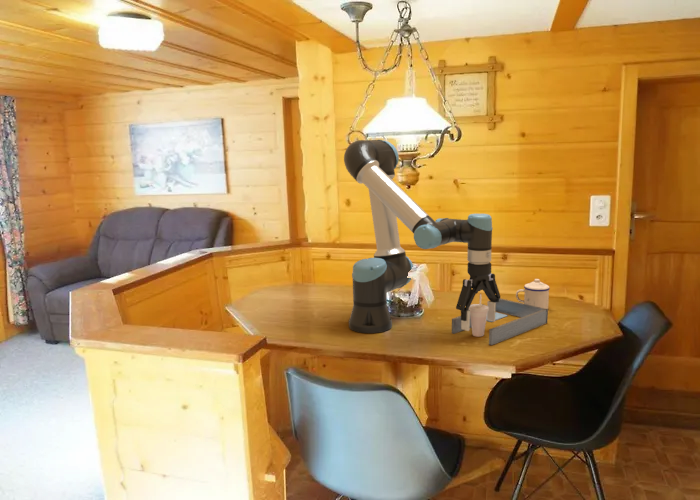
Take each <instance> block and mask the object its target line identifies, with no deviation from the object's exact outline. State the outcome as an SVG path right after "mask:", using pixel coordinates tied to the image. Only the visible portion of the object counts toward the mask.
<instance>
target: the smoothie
mask: <svg viewBox="0 0 700 500" xmlns="http://www.w3.org/2000/svg"><path fill="white" fill-rule="evenodd" d="M488 308H489V307H488V306H487V305H486V304H483V303H482V293H479V303H473V304H472V303H471V305H470V307H469V310H470V317H471V326H472V328H471V332H472V336H473V337H476V338H477V337H483V336H484V335H485V330H486V324H487V321H486V318H487V311H488V310H489V309H488Z"/></svg>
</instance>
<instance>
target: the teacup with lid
mask: <svg viewBox="0 0 700 500" xmlns="http://www.w3.org/2000/svg"><path fill="white" fill-rule="evenodd" d="M523 286H524V287H523V288H524V289H518V290H516V292H515V298H516V300H517V302H519V303H523V304H527V305H532V306H536V307H540V308H545V309H548V310H549V299H550V298H549V296H550V293H549V292H550V291H549V290H550V289H551V288H550V286H549V285H548V284H546V283H544V282H542V281H541V279H539V278H534V280H533V281H531V282H529V283H525V284H524V285H523ZM520 292H521V293H522V292H523V293H524V298H523V299H521V298H520V297H519V293H520Z"/></svg>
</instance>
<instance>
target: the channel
mask: <svg viewBox="0 0 700 500" xmlns="http://www.w3.org/2000/svg"><path fill="white" fill-rule="evenodd" d="M468 311H470V310H469V309H468ZM495 312H497V313H501V314H505V315H508V316H509V315H511V316H514V317H518V318H517V319H514V320H511V321H509V322H506V323H503V324H500V325H497V326H495V327H492V328H490V329H488V334H489V335H488V345H489V346H493V345H496V344H498V343H501V342H504V341H506V340H508V339H511V338H514V337H516V336H519V335H522V334H524V333H526V332H529V331H531V330H534V329H536V328H538V327H541V326H543V325H546V324H548V317H549V308H548V309H545V308H540V307H536V306H532V305H527V304H524V303H523V302H520V301H515V300H514V301H513V300H511V299H510V300H508V299H504V298H501V297H500V299H499V302H496V310H495ZM470 329H472V326H471V317H470ZM463 331H464V330H463V329H461V315H459V316H456V317H453V318H451V334H458V333H460V332H463Z"/></svg>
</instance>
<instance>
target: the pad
mask: <svg viewBox="0 0 700 500" xmlns="http://www.w3.org/2000/svg"><path fill="white" fill-rule="evenodd" d="M506 317H509V314H505V313H501V312H497V311H495V322H496V321H498V320H500V319H504V318H506ZM486 322H488V323H489V322H490V323H493V321H489V320H487V318H486Z"/></svg>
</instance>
